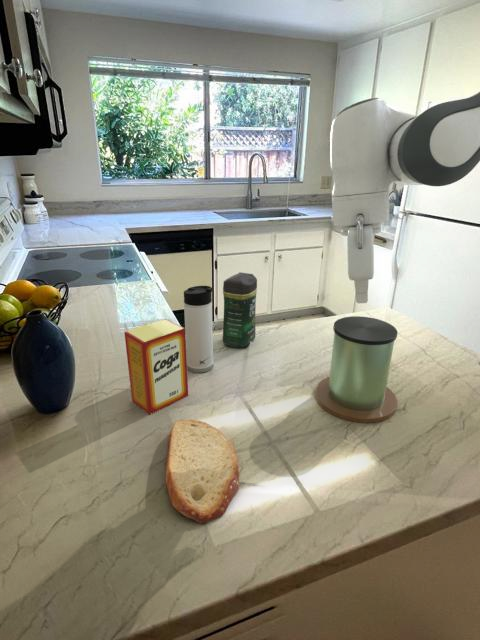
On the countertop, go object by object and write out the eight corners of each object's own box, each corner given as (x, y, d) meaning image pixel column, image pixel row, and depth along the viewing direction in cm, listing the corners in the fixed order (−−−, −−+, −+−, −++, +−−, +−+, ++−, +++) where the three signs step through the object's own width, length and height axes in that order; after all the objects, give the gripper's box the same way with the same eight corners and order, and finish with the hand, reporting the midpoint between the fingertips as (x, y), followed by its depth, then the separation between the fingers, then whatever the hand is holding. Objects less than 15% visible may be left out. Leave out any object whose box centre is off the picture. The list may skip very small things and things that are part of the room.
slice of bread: (185, 421, 77) (184, 404, 75) (269, 454, 68) (270, 437, 67) (114, 482, 62) (111, 463, 61) (209, 534, 54) (209, 514, 53)
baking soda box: (169, 383, 89) (165, 317, 83) (188, 395, 85) (184, 326, 78) (132, 401, 83) (124, 330, 77) (149, 414, 78) (142, 340, 72)
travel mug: (208, 375, 92) (206, 293, 85) (182, 370, 94) (178, 289, 87) (218, 362, 98) (217, 284, 90) (193, 358, 100) (190, 281, 92)
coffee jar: (246, 351, 104) (247, 282, 97) (218, 345, 107) (218, 278, 99) (259, 336, 112) (261, 272, 105) (233, 331, 115) (233, 268, 108)
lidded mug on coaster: (383, 376, 90) (394, 311, 84) (406, 425, 74) (422, 349, 68) (311, 373, 91) (317, 308, 85) (318, 420, 75) (326, 344, 69)
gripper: (383, 215, 55) (384, 311, 59) (378, 207, 74) (379, 281, 78) (336, 219, 57) (339, 312, 61) (343, 210, 75) (345, 282, 79)
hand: (362, 294), depth 69 cm, fingers open, 8 cm apart
